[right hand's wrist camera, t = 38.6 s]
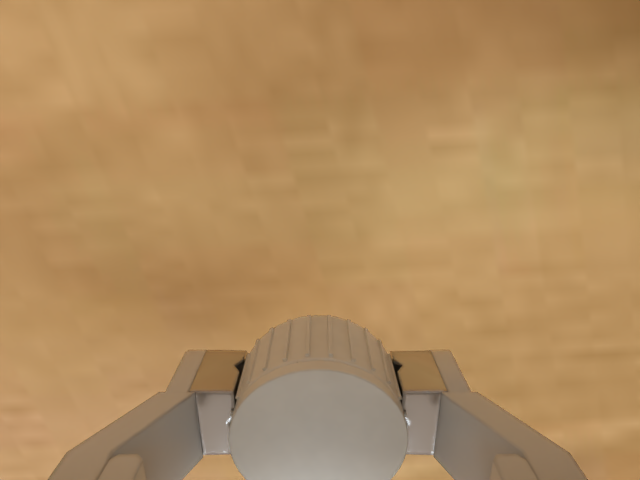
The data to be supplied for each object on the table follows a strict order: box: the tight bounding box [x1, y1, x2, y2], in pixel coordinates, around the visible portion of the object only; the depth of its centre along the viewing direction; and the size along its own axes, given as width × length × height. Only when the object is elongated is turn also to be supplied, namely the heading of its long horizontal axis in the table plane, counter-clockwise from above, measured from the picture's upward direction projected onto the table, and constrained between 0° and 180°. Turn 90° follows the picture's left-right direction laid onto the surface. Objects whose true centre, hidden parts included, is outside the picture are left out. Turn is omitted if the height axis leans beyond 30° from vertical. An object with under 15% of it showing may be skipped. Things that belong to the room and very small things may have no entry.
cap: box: [228, 315, 409, 480], centre depth 10 cm, size 4×4×2 cm
